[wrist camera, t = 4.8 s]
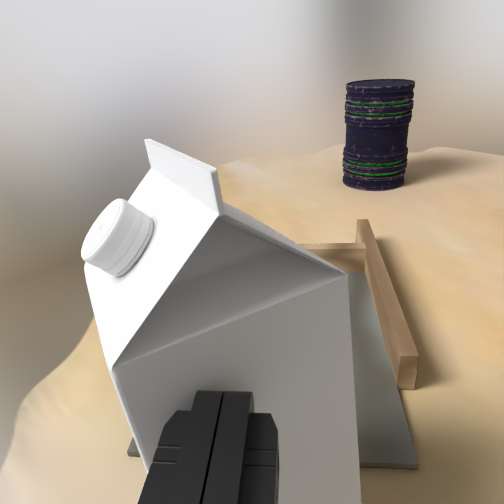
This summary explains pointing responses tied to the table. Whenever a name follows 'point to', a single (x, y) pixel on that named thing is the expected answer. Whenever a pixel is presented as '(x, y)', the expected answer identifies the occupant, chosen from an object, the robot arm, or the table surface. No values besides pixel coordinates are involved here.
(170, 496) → the robot arm
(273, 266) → the milk carton
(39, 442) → the table surface
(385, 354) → the tray
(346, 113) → the dark blue barrel
